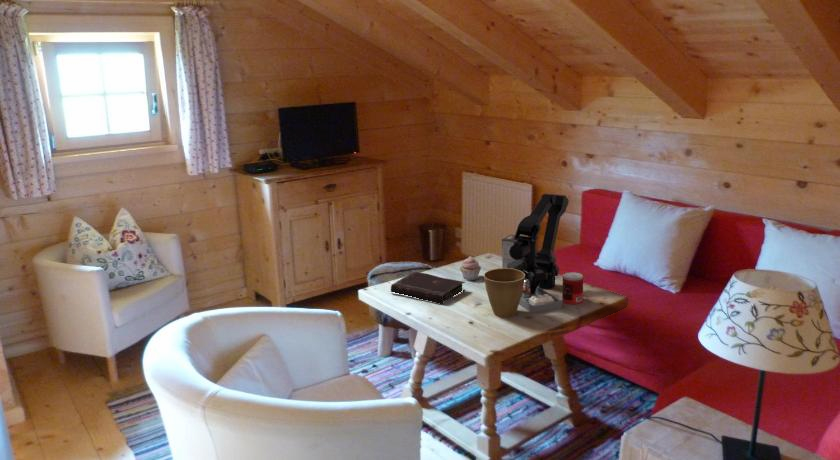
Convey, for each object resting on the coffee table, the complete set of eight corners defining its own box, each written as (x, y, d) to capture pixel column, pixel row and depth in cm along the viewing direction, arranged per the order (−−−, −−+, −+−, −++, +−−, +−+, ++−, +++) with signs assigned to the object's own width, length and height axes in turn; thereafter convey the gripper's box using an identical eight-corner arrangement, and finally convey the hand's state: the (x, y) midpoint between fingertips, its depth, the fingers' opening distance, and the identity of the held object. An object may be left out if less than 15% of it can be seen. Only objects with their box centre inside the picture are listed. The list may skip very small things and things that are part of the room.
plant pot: (481, 309, 252) (480, 269, 247) (519, 306, 253) (519, 267, 248) (488, 324, 237) (487, 282, 233) (529, 321, 238) (529, 279, 234)
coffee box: (510, 268, 297) (510, 234, 293) (524, 270, 294) (524, 235, 290) (501, 274, 290) (501, 239, 286) (515, 276, 287) (515, 240, 282)
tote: (534, 292, 267) (534, 284, 266) (561, 310, 248) (561, 301, 247) (506, 296, 263) (506, 288, 262) (531, 315, 244) (531, 306, 243)
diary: (442, 306, 258) (441, 294, 256) (390, 295, 271) (390, 284, 270) (466, 291, 272) (466, 280, 271) (416, 281, 286) (416, 270, 285)
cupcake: (469, 273, 293) (469, 251, 290) (485, 277, 286) (485, 255, 284) (455, 278, 287) (454, 256, 284) (471, 283, 280) (470, 260, 278)
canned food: (583, 299, 257) (584, 272, 254) (581, 307, 250) (582, 279, 247) (563, 298, 260) (564, 271, 257) (560, 305, 252) (561, 278, 250)
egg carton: (547, 303, 253) (547, 292, 252) (554, 307, 248) (554, 296, 247) (528, 306, 250) (528, 295, 249) (535, 310, 246) (535, 299, 245)
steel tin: (531, 293, 262) (531, 276, 260) (538, 297, 257) (538, 280, 255) (518, 295, 260) (518, 278, 258) (525, 300, 255) (525, 283, 253)
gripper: (499, 249, 260) (499, 286, 264) (521, 262, 243) (521, 302, 247) (524, 245, 263) (524, 282, 267) (548, 258, 246) (547, 297, 250)
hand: (528, 291), depth 258 cm, fingers closed on steel tin, 6 cm apart
